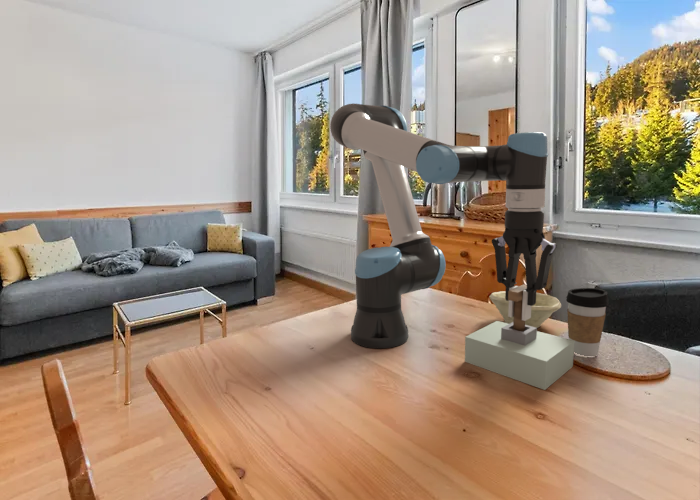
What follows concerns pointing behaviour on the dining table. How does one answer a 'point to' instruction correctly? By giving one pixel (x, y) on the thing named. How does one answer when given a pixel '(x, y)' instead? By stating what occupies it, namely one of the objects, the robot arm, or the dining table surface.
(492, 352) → the socket box
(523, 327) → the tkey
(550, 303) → the bowl
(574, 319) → the coffee cup
